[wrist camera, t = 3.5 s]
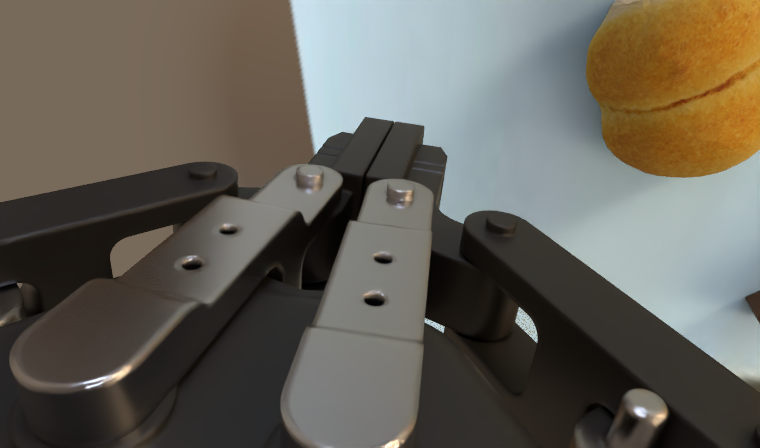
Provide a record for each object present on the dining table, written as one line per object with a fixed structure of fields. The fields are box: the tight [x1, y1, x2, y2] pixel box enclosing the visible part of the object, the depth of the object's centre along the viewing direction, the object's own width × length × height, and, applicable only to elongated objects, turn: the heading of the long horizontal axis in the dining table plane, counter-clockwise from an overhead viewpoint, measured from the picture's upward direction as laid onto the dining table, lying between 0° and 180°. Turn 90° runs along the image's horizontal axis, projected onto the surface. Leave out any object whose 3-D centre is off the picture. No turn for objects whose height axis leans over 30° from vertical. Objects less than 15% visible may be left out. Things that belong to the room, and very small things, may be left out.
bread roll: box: [586, 0, 760, 178], centre depth 25 cm, size 8×9×4 cm
